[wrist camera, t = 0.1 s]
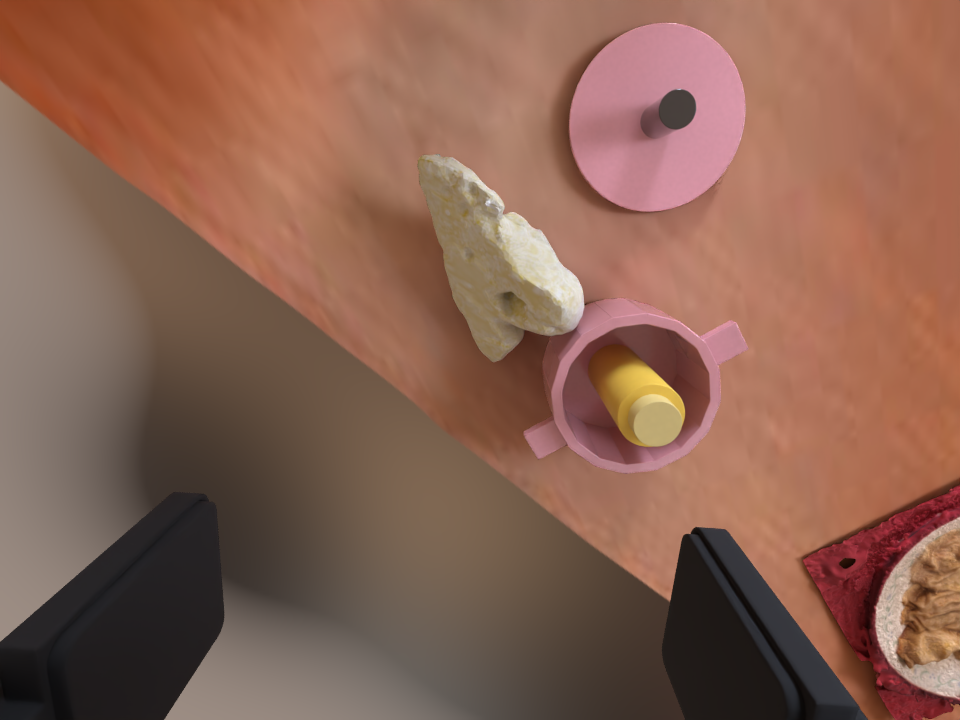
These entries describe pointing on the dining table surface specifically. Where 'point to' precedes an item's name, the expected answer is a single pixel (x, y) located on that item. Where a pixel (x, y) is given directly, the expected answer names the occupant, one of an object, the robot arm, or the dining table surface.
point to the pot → (663, 350)
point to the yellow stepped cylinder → (636, 397)
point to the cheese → (496, 262)
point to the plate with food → (902, 604)
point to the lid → (657, 117)
